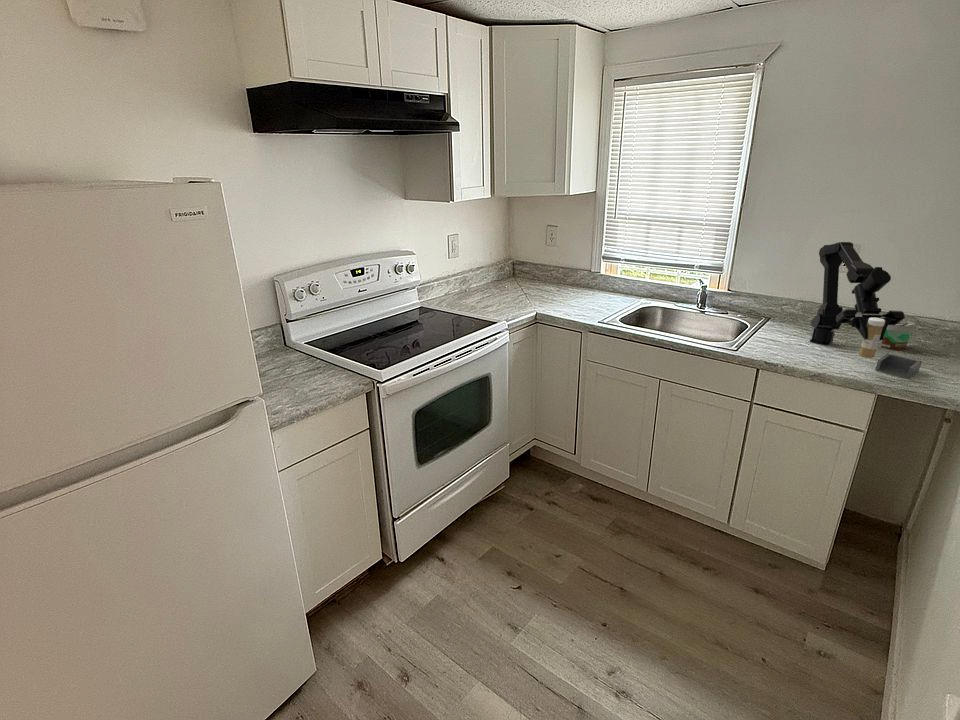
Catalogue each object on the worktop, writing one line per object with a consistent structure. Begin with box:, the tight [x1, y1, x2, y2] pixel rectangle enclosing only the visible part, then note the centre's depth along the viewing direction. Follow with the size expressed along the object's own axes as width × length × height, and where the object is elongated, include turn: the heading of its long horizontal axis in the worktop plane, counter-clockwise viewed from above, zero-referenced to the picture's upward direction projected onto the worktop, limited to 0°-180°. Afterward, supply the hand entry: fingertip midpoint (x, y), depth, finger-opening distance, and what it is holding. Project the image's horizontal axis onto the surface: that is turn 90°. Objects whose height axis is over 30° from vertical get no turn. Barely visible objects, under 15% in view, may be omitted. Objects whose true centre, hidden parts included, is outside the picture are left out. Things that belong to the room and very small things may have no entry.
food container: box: [880, 320, 916, 351], centre depth 200 cm, size 12×6×10 cm, turn 106°
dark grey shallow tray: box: [874, 353, 923, 380], centre depth 181 cm, size 10×10×4 cm
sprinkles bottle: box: [858, 317, 885, 359], centre depth 175 cm, size 5×5×13 cm
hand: (873, 339), depth 174 cm, fingers closed on sprinkles bottle, 4 cm apart
